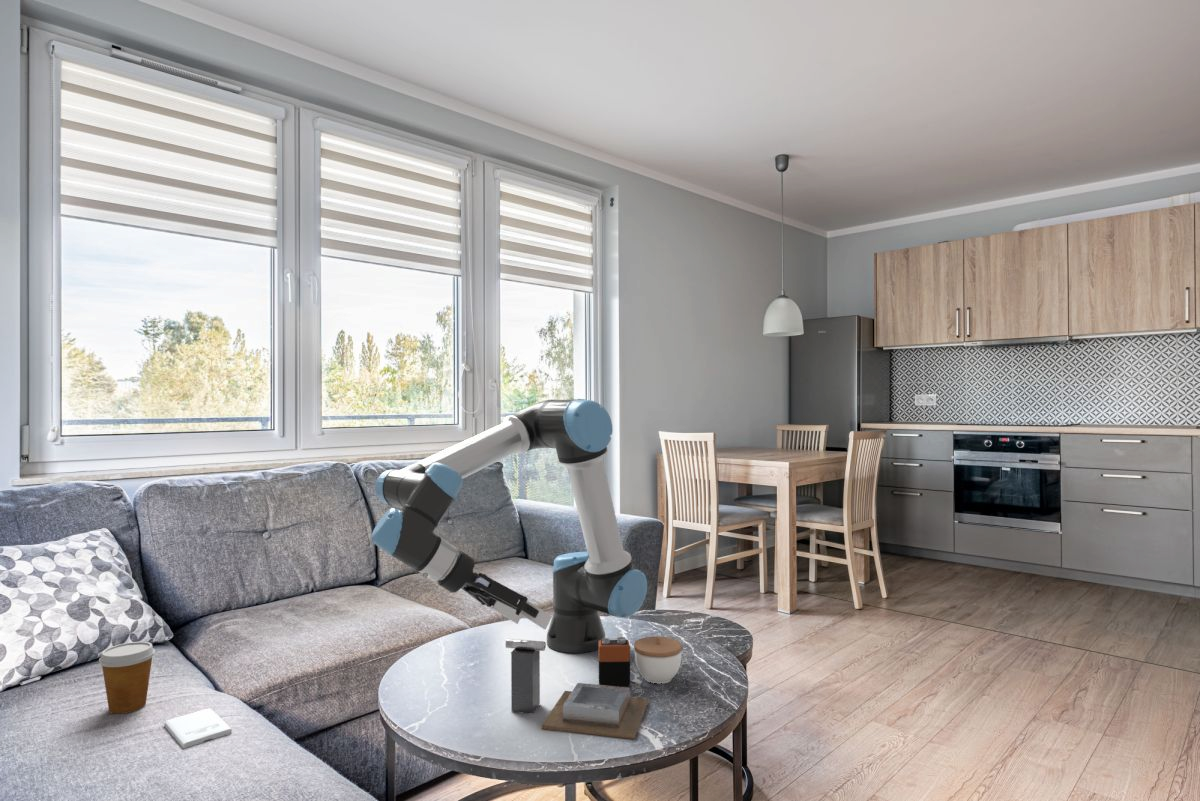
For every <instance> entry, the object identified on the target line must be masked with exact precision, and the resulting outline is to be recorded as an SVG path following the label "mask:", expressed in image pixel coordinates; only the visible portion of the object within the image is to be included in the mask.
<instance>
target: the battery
mask: <svg viewBox="0 0 1200 801" xmlns="http://www.w3.org/2000/svg"><path fill="white" fill-rule="evenodd" d="M598 685H606V686H617V687H628V688H630V686H631V645H630V641H629V639H627V638H626V637H624V636H618V637H616V639H610V638H608V637H605V638H604V639H603V640H599V649H598Z"/></svg>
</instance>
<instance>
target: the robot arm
mask: <svg viewBox="0 0 1200 801" xmlns="http://www.w3.org/2000/svg"><path fill="white" fill-rule="evenodd" d="M611 435H613V422H612V418H611V416H610V414H609V412H608V410H607V409H606V408H605V407H604V406H603V405H602V404H600V403H599V402H597V401H595V400H591V399H589V400H587V399H584V398H575V399H574V398H573V399H546V400H542V401H539V402H536V403H534V404H531V405H529V406H526V407H525V408H522V409H520V410H518V411H516V412H513V413H512V414H509V415H506V416H505V417H504V418H503V420H502V422H501V423H500V424H498V425H496V426H494V427H491V428H489V429H487V430H484V431H483V432H481V433H479V434H476V435H473V436H472V437H470V438H468V439H465V440H463V441H461V442H459V443H456V444H454V445H452V446H450V447H447V448H445V449H444V450H441V451H439V452H437V453H434V454H432V455H431V456H428V457H426V458H424V459H422V460H419V461H417V462H415V463H413V464H410V465H408V466H406V467H403V468H402V469H400V468H399V469H398V468H394V469H388V470H385V471H383V472H381V473H380V475H379V476H378V477H377V479H376V481H375V486H374V491H375V495H376V497H377V499H378V500H379V501H380V502H381V503H384V504H385V505H388V506H390V507H391V508H390V509H388V510H387V511H386V512H385V513H384V514H383V515H382V517H381V518H380V520H378V522H377V524H376V525H375V527H374V529H373V531H372V533H371V536H370V537H371V541H372V543H373V545H375V546H377V547H378V548H379V549H381V550H382V551H384V552H385V553H386V554H387V555H388V556H391V557H393V558H394V559H396V560H397V561H399V562H401V563H402V564H404V565H406V566H408V567H409V568H411V569H412V570H415V571H416V572H418V573H420V574H422V575H421V579H423V580H427V578H428V579H429V580H431V581H432V582H437V584H438V586H440V587H441V588H443V589H445V590H446V591H447V592H450V593H457V592H459V591H460V590H461V589H462V590H463V592H465V593H467V594H468V595H470V596H471V597H472V598H473V599H474V600H476V601H478V602H479V603H480V604H481V605H482V606H486V607H487V608H491V609H492V610H494V612H497V613H498V614H500V615H501V616H504V617H505V618H506V619H508V620H510V621H511V622H512V623H515V624H516V625H517V624H519V622H520V620H521V618H522V617H524V618H526V619H527V620H529V621H530V622H532V623H533V624H535V625H537V626H538V627H540V628H542V629H543V630H546V629H547V627H549V628H548V630H547V634H546V646H548V648H550V649H551V650H554V651H557V652H561V653H569V654H577V653H579V654H580V653H581V654H582V653H588V652H593V651H597V650H599V640H603V639H604V638H606V632H605V628H604V626H603V622H602V619H601V617H600V614H599V613H600V612H601V613H604V614H607V615H610V616H611V617H619V618H629V617H631V616H633V615H635V614H636V613H637V612H638V611H639V610H640V608H641V607H642V605H643V604H644V601H645V599H646V597H647V591H648V580H647V577H646V575H645V573H644V572H642V571H641V570H639V569H636V568H635V566H634V562H633V559H632V556H631V553H630V552H628V551H626V550H624V547H623V543H622V538H621V534H620V530H619V524H618V521H617V520H618V519H617V517H616V512H615V507H614V503H613V498H612V494H611V489H610V484H609V482H608V477H607V471H606V468H605V467H606V466H605V464H604V458H605V456H606V455H607V452H608V447H607V446H608V445H609V444H610V442H611V440H612V438H611ZM536 449H555V451H556V454H557V459H558V462H559V464H560V465H563V466H564V467H566V469H567V472H568V477H569V481H570V485H571V490H572V492H573V498H574V501H575V506H576V511H577V514H578V518H579V522H580V526H581V531H582V535H583V540H584V543H585V548H586V551H578V552H568V553H564V554H560V555H558V556H556V557H555V558H554V560H553V570H552V586H553V587H552V588H553V589H552V590H553V591H552V592H553V594H552V596H553V598H552V599H553V612H552V615H551V614H549V613H547V612H546V611H544V610H543V609H541V608H540V607H538V606H537V605H536V604H533V603H531V602H530V601H529V600H528V599H529V598H528V597H527V596H525V595H523V594H521V593H519V592H517V591H515V590H513V589H511V588H509V587H507V586H505V585H504V584H502V583H500V582H498V581H497V580H494V579H493V578H491V577H490V576H488V575H487V574H485V573H482V572H474V567H475V564H476V563H475V559H474V557H472V556H471V555H468V553H465V552H464V551H462V550H458V547H457V546H455V545H453V544H452V543H451V542H449V541H447V540H446V539H445V538H442V537H441V536H439V535H437V534H436V533H435V530H436V529H437V527H439V524H440V522H441V521H442V520H443V518H444V516H445V515H446V514H447V512H448V510H449V509H450V508H451V506H452V504H453V503H454V501H455V500H456V499H457V497H458V493H459V492H460V490H461V489H462V486H463V484H464V479H465V478H467V477H469V476H471V475H473V474H475V473H477V472H479V471H482V470H483V469H485V468H488V467H489V466H491V465H493V464H495V463H497V462H499V461H501V460H503V459H505V458H506V459H507V457H509V456H511V455H514V454H515V453H517V454H519V455H520V454H525V453H527V452H529V451H531V450H536ZM397 508H398V509H397ZM399 508H401V509H399ZM548 625H549V626H548Z"/></svg>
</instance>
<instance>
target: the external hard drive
mask: <svg viewBox="0 0 1200 801" xmlns="http://www.w3.org/2000/svg"><path fill="white" fill-rule="evenodd" d="M163 726H164V728H166V730H167V731H168V732H169V733H170V735H171V736H172V737H173V738H174V740H176V741H177V744H179V745H180V747H181V748H182V749H185V748H189V747H192V746H195V745H196V746H197V745H199V744H202V743H205V742H206V741H210V740H214V739H218V738H221V737H224V736H228V735H230V734H232V733H233V730H232V728H231V726H229V725H228V724H227V723H226V722H225V721H224V720H223V719H222V717H220V716H219V715H218V714H217V713H216V712H215V711H214V710H213V709H212V708H205V709H201V710H197V711H195V712H194V711H193V712H192V713H188V714H187V713H186V714H184V715H181V716H177V717H173V718H170V719H167V720H165V721H164V725H163Z"/></svg>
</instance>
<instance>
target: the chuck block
mask: <svg viewBox="0 0 1200 801" xmlns="http://www.w3.org/2000/svg"><path fill="white" fill-rule="evenodd" d="M630 690H631V689H630V687H617V686H606V685H599V684H596V683H594V684H593V683H583V682H577V683H576V684H575V687H574V688H573V689H572V691H571V690H564V692H563V693H562V694H561V696H560V697H559V699H558V700H557V702H555V705H554V706H553V707H552V709H551V710H550V712H549V713H548V715H547V716H546V718H545V719H544V721H543V722H542V724H541V730H548V731H549V730H550V731H557V732H566V733H576V734H583V735H584V734H586V735H592V734H593V736H601V737H602V736H604V737H612V738H619V739H620V738H621V739H629V740H635V739H636V736H637V733H638V732H639V728H640V726H641V723H642V721H643V719H642V718H644V716H645V713H646V710H647V708H648V706H649V700H650V699H649V698H642V697H632V696H630ZM647 705H648V706H647Z"/></svg>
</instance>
